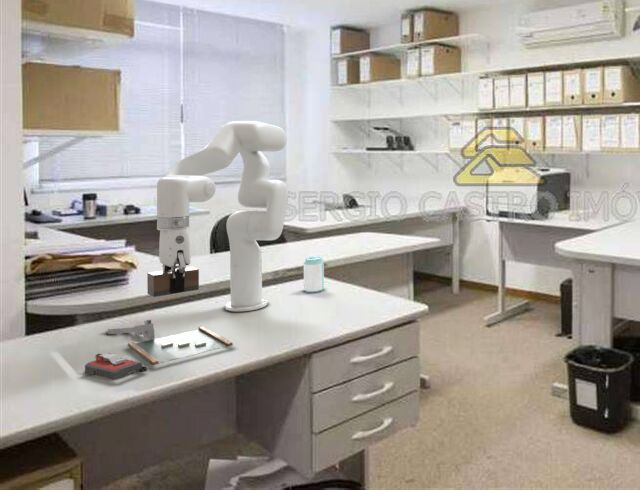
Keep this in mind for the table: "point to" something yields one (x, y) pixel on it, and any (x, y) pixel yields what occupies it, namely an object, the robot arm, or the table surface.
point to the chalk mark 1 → (167, 344)
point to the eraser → (162, 281)
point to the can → (313, 274)
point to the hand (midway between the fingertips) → (173, 290)
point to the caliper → (136, 330)
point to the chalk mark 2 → (183, 344)
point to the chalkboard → (163, 354)
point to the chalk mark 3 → (200, 344)
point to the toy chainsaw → (113, 366)
